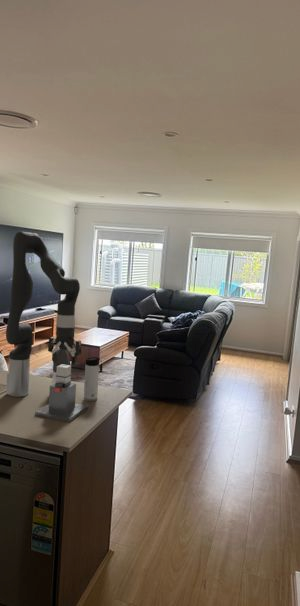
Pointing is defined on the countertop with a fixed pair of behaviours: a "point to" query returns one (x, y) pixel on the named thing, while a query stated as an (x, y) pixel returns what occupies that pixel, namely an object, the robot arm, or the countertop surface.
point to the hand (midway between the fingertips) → (64, 363)
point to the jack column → (63, 375)
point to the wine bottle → (60, 361)
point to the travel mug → (91, 379)
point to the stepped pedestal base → (62, 403)
